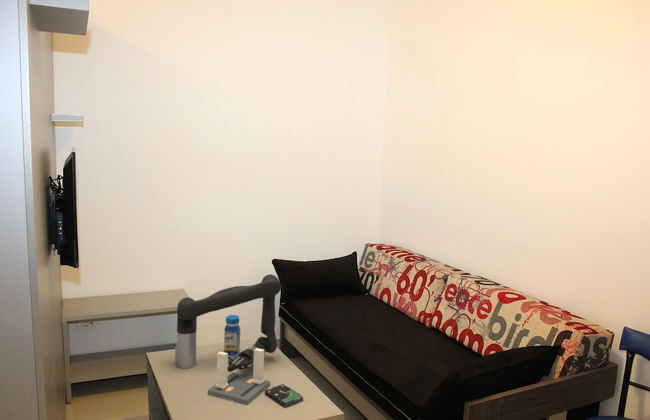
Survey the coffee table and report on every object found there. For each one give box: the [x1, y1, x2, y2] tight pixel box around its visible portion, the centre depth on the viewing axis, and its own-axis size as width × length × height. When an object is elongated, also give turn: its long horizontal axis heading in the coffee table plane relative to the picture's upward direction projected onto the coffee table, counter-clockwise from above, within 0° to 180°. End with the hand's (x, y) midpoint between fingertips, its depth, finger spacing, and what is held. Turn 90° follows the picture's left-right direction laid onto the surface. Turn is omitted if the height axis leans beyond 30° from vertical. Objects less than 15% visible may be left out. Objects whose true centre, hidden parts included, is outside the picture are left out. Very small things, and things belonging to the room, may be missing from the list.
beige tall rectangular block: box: [252, 348, 265, 385], centre depth 238 cm, size 4×4×15 cm
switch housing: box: [207, 371, 271, 405], centre depth 236 cm, size 20×20×2 cm
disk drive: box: [264, 383, 304, 409], centre depth 231 cm, size 10×3×15 cm
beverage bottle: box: [223, 314, 241, 357], centre depth 274 cm, size 8×8×20 cm
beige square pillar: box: [214, 351, 229, 389], centre depth 232 cm, size 4×4×15 cm
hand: (229, 369), depth 238 cm, fingers closed
